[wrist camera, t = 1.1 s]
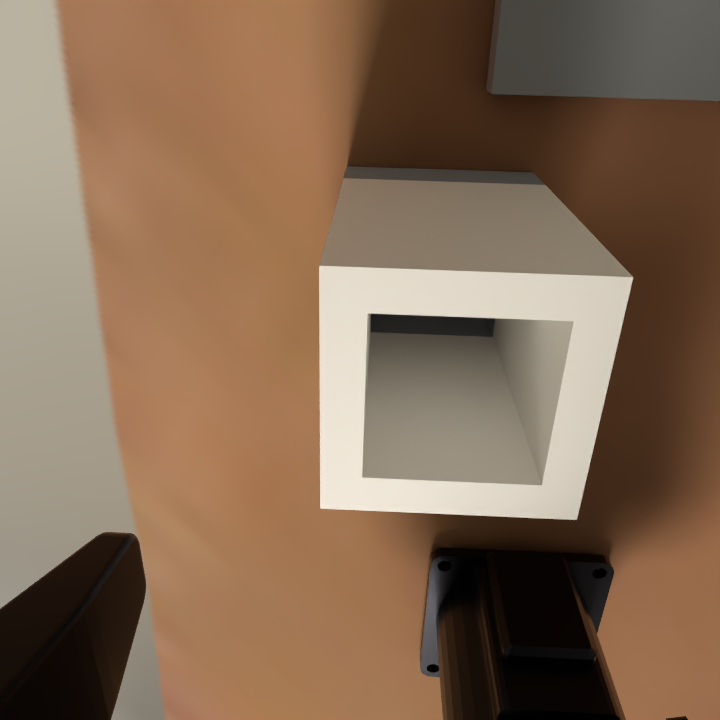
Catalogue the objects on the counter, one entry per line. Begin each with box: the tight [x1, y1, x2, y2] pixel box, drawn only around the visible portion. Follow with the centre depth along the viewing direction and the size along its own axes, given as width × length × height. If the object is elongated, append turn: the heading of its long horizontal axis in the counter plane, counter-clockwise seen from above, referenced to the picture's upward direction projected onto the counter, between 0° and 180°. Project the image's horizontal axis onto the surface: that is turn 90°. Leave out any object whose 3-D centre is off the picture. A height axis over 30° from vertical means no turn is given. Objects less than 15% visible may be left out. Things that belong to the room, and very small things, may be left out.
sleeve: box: [319, 166, 633, 520], centre depth 15 cm, size 5×5×8 cm
